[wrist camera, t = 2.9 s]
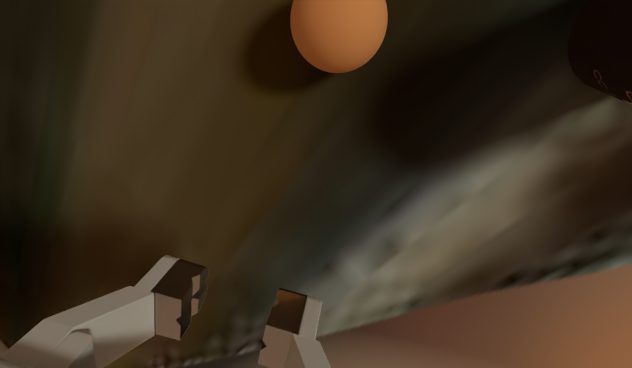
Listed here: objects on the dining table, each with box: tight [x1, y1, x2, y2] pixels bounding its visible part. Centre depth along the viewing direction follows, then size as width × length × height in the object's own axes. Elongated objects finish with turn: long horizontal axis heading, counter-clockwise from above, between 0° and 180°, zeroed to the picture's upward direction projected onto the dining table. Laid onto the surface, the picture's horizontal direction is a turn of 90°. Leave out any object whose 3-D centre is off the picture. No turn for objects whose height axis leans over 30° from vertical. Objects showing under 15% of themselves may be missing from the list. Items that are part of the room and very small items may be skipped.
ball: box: [290, 0, 388, 73], centre depth 18 cm, size 6×6×6 cm
